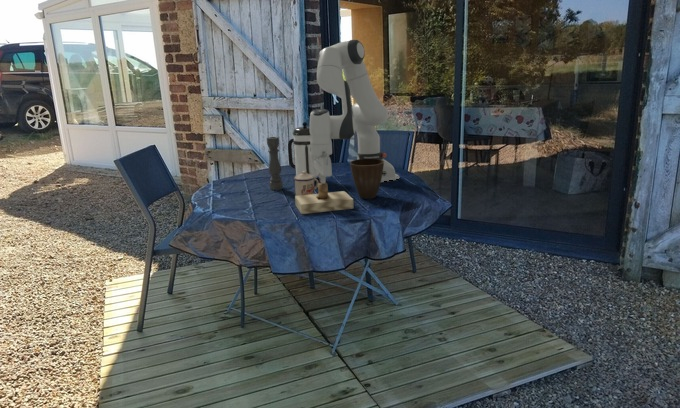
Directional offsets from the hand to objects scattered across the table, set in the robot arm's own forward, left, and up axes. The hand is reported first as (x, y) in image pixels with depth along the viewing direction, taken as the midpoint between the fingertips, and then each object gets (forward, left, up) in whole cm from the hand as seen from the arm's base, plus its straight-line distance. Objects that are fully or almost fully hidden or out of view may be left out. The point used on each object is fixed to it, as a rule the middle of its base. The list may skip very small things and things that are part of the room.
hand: (322, 182), depth 204 cm
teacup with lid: (+3, -20, -11) cm, 23 cm away
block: (0, 0, -10) cm, 10 cm away
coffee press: (-2, -52, -11) cm, 53 cm away
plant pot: (-22, -8, -11) cm, 26 cm away
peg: (0, 0, -10) cm, 10 cm away
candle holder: (+15, -39, -11) cm, 43 cm away
